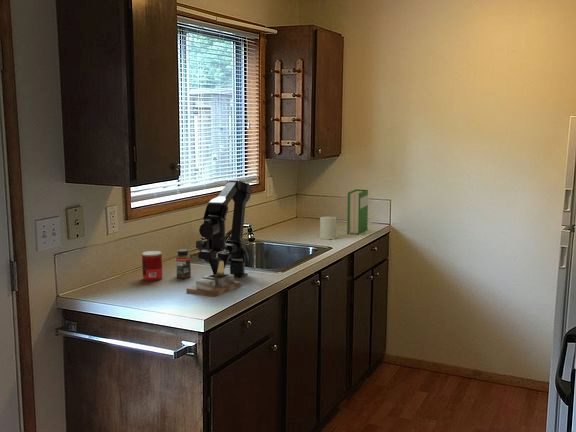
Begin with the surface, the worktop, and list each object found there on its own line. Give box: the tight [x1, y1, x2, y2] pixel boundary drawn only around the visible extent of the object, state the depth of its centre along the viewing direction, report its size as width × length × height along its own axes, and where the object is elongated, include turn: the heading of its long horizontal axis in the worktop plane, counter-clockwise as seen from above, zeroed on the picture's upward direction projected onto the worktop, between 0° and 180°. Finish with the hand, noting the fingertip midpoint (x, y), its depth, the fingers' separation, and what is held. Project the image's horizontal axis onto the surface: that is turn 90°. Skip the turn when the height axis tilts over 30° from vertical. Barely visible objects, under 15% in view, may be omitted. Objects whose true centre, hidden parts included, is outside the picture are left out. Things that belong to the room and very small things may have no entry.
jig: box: [185, 272, 242, 298], centre depth 245 cm, size 18×13×4 cm
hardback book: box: [346, 188, 369, 235], centre depth 367 cm, size 18×7×24 cm, turn 159°
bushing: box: [213, 259, 225, 278], centre depth 247 cm, size 4×4×8 cm
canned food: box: [141, 250, 163, 282], centre depth 261 cm, size 8×8×11 cm
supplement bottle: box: [175, 248, 192, 279], centre depth 264 cm, size 6×6×11 cm
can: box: [319, 215, 337, 240], centre depth 349 cm, size 9×9×12 cm
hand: (218, 272), depth 248 cm, fingers closed on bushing, 4 cm apart
